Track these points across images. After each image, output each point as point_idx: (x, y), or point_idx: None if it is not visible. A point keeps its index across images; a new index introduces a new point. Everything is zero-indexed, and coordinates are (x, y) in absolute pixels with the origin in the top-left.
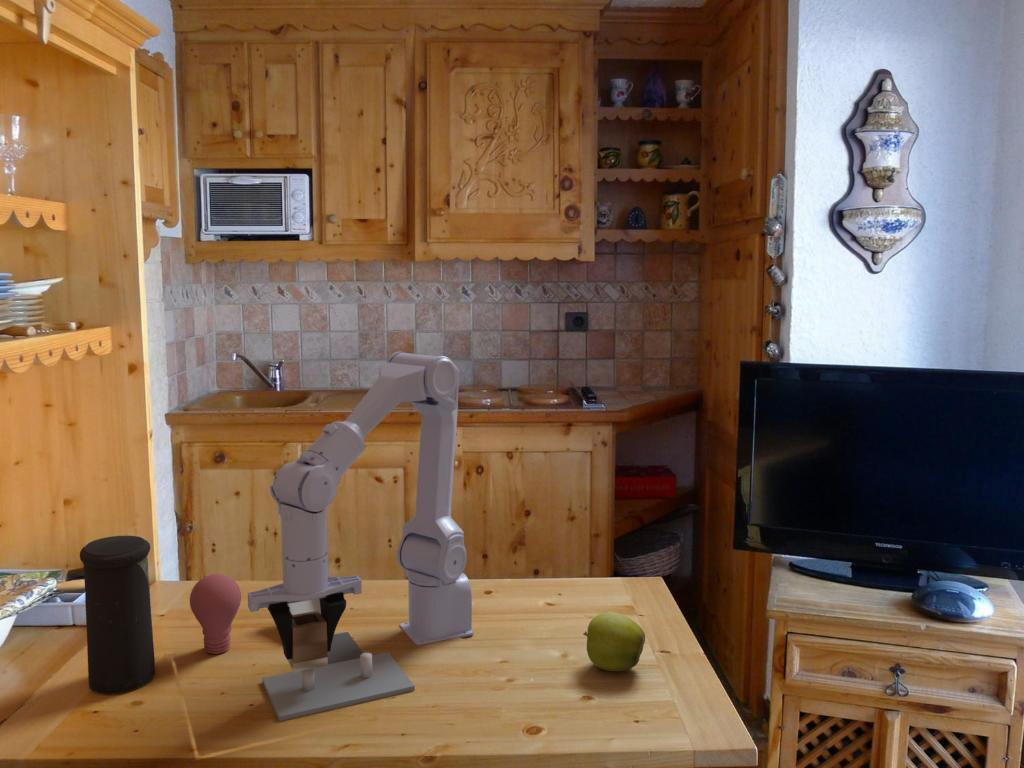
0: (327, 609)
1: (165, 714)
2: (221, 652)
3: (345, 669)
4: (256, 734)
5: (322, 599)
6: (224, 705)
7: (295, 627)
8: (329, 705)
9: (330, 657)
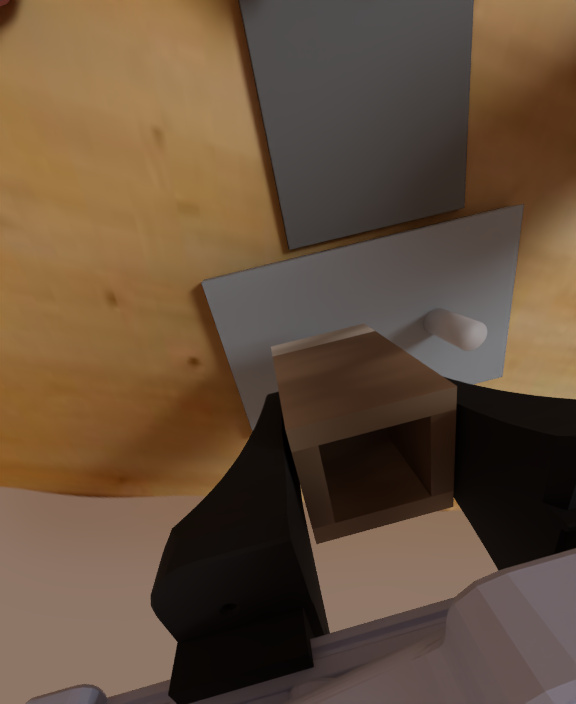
0: (506, 560)
1: (6, 371)
2: (1, 5)
3: (401, 279)
4: (219, 453)
5: (540, 508)
6: (134, 355)
7: (327, 536)
8: None
9: (379, 169)
